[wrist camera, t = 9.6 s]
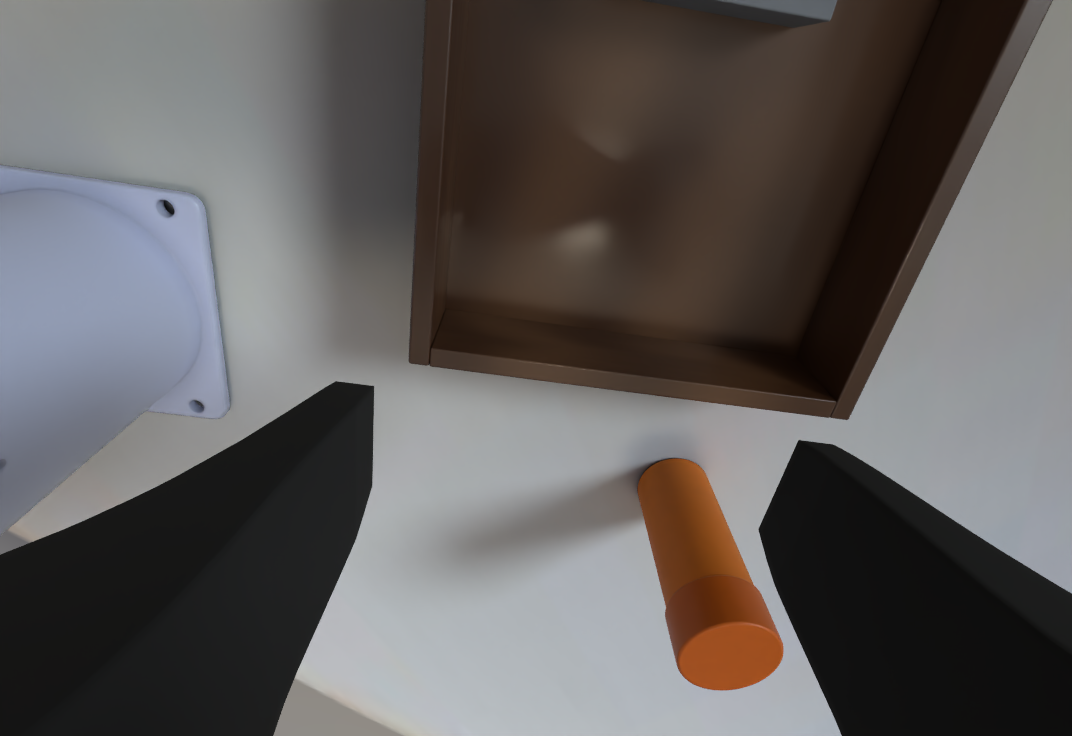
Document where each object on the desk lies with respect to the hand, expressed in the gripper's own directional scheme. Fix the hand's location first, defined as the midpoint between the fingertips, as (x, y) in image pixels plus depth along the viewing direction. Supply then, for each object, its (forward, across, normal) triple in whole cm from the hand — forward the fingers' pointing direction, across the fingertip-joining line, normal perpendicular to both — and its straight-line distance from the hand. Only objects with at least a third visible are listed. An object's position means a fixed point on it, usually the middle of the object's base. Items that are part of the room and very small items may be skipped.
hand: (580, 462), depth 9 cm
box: (+10, -2, -6) cm, 12 cm away
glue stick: (+10, -6, +8) cm, 14 cm away
